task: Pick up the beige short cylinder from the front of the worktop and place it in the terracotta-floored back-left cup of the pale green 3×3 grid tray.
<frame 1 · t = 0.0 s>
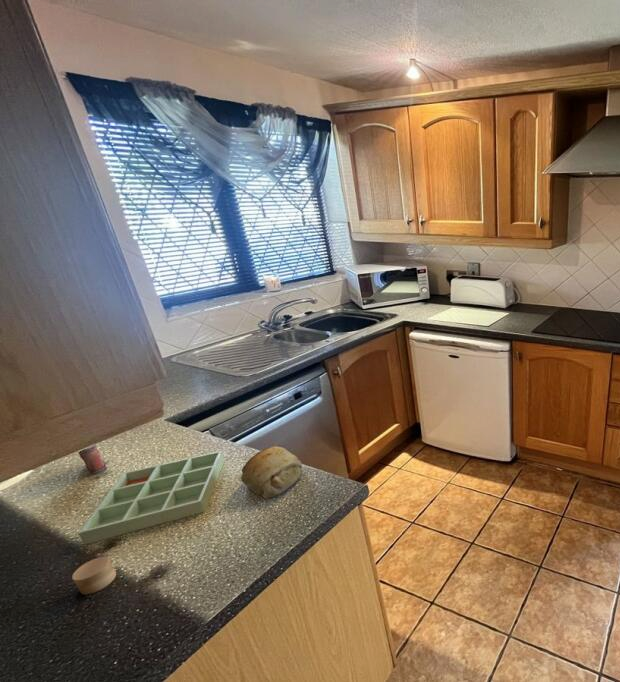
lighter: (97, 468, 99), on the counter
beige short cylinder: (98, 582, 69), on the counter
grid: (164, 496, 89), on the counter
pastry: (274, 481, 93), on the counter
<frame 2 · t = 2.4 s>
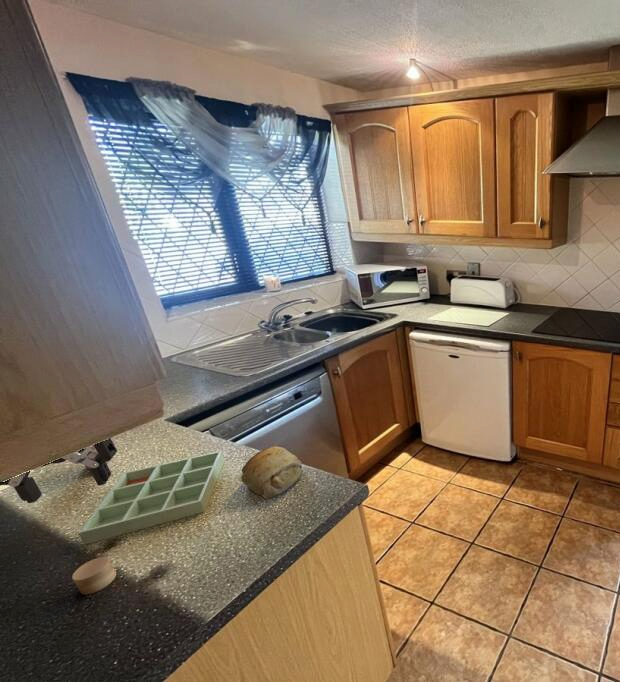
hand: (70, 490, 65), 18 cm above the counter, tool pointing down, fingers open, 8 cm apart
nothing on the counter moved.
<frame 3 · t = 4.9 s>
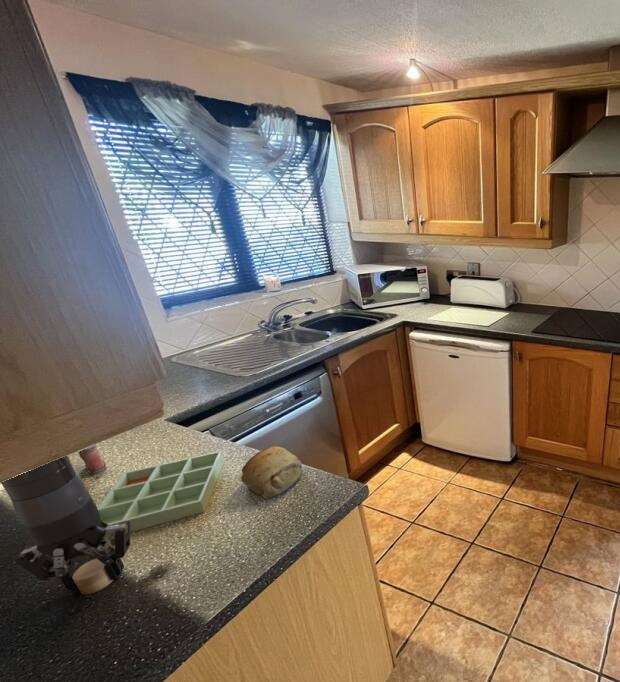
hand: (98, 580, 68), 0 cm above the counter, tool pointing down, fingers closed on beige short cylinder, 4 cm apart
beige short cylinder: (99, 582, 69), on the counter, touching gripper
everything else where it was.
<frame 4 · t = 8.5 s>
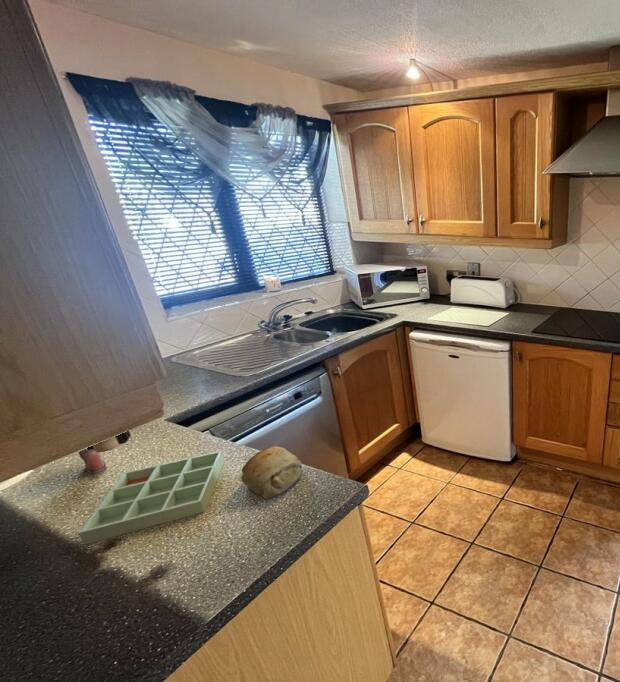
hand: (109, 444, 82), 15 cm above the counter, tool pointing down, fingers closed on beige short cylinder, 4 cm apart
beige short cylinder: (109, 445, 82), point 15 cm above the counter, touching gripper
everything else where it was.
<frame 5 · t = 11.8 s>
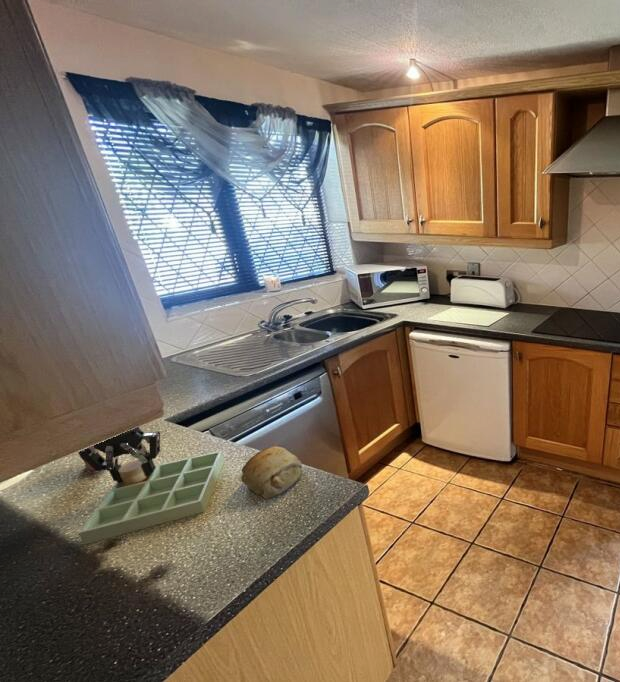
hand: (136, 476, 91), 3 cm above the counter, tool pointing down, fingers closed on beige short cylinder, 4 cm apart
beige short cylinder: (137, 477, 91), point 3 cm above the counter, touching gripper
everything else where it was.
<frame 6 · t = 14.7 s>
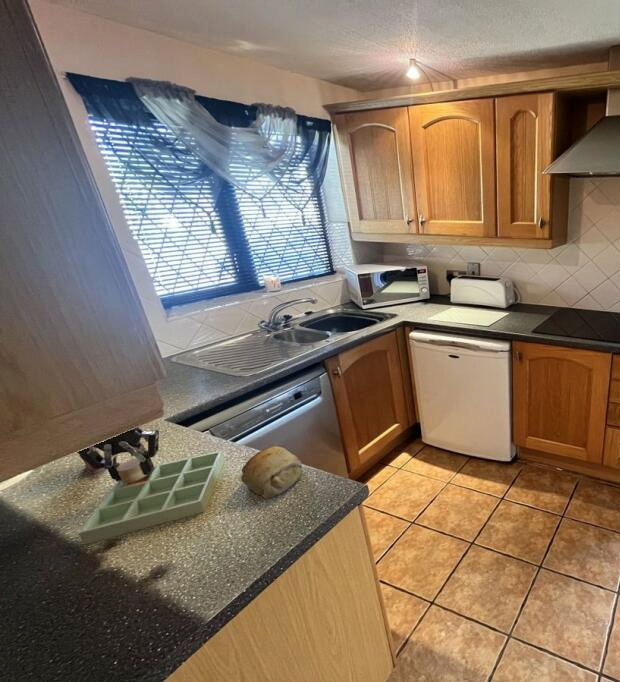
hand: (134, 475, 90), 4 cm above the counter, tool pointing down, fingers closed on beige short cylinder, 4 cm apart
beige short cylinder: (135, 476, 90), point 3 cm above the counter, touching gripper
everything else where it was.
when the fingers open (4 cm above the counter, at t = 17.2 s): beige short cylinder drops 2 cm, resting on grid.
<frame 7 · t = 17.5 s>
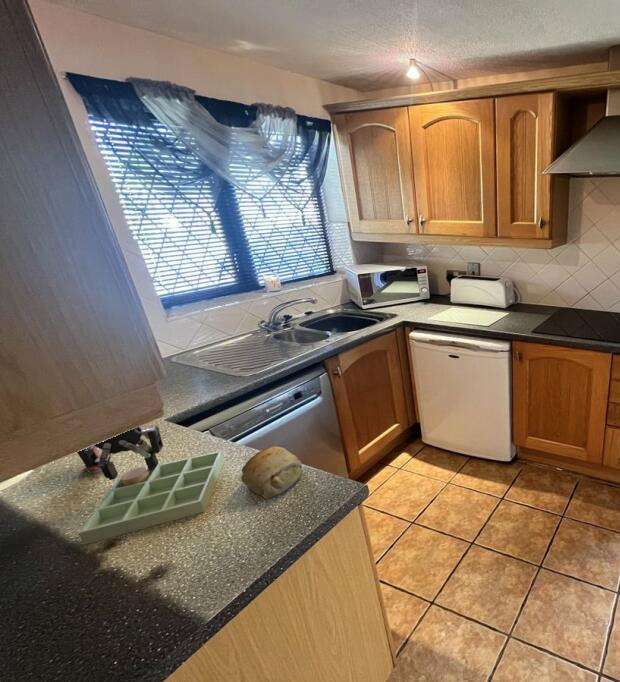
hand: (133, 472, 90), 4 cm above the counter, tool pointing down, fingers open, 6 cm apart
beige short cylinder: (139, 485, 91), point 1 cm above the counter, touching grid
everything else where it was.
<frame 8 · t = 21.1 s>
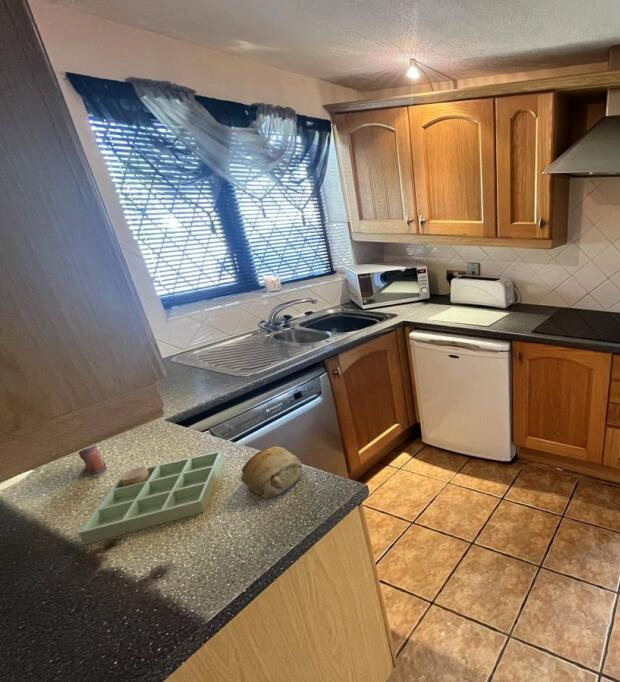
nothing on the counter moved.
at the end: beige short cylinder 0.0 cm from the target spot in the grid, point 0.7 cm above the grid's base; beige short cylinder tilted 0°; the gripper is holding nothing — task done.
